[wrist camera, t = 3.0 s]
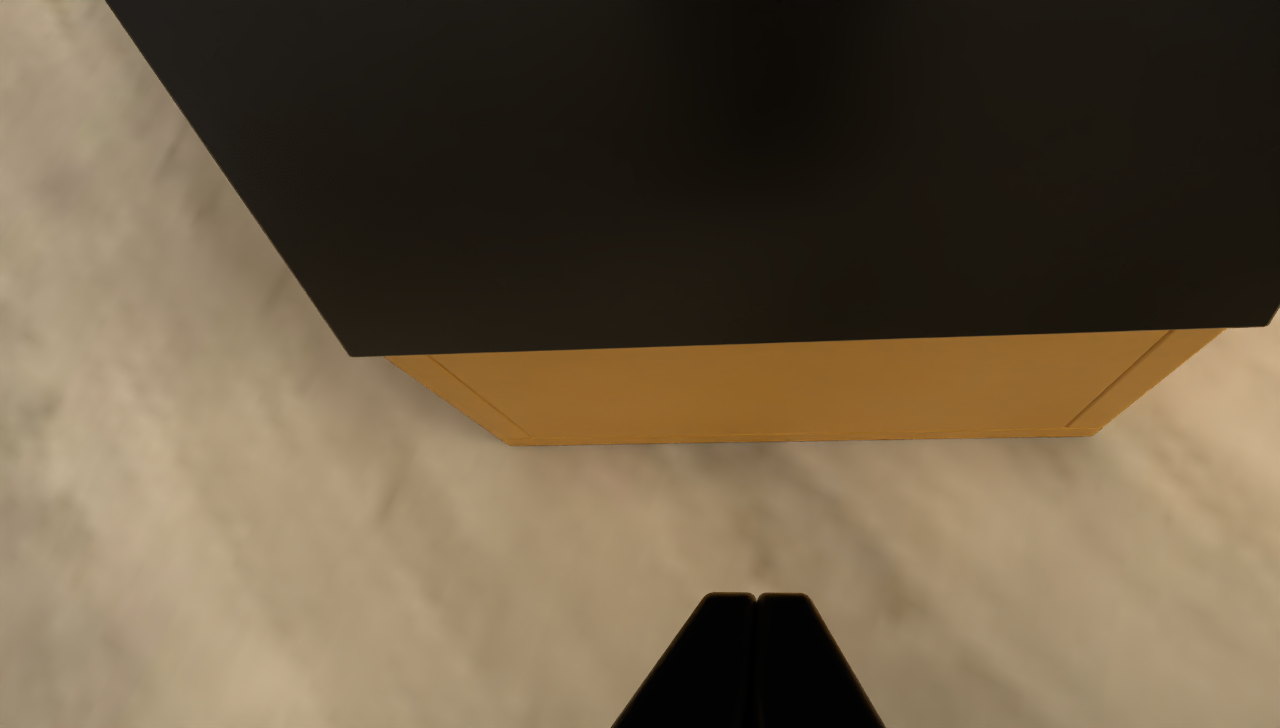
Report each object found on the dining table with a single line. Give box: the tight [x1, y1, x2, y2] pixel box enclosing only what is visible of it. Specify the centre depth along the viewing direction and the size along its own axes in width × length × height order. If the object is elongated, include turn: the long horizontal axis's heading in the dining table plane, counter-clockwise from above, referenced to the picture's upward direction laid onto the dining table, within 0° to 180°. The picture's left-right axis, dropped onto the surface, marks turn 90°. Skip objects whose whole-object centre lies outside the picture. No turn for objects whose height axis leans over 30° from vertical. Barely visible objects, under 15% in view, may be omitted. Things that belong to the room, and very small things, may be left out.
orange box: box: [383, 328, 1227, 446], centre depth 20 cm, size 14×13×8 cm
